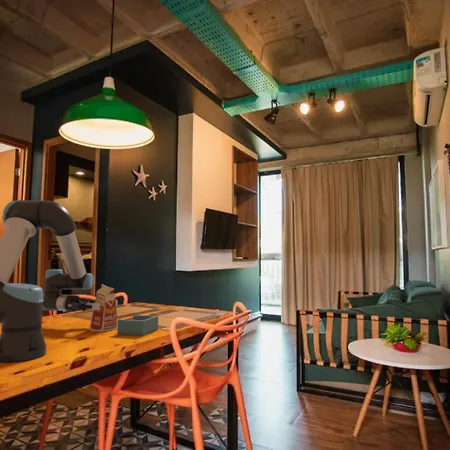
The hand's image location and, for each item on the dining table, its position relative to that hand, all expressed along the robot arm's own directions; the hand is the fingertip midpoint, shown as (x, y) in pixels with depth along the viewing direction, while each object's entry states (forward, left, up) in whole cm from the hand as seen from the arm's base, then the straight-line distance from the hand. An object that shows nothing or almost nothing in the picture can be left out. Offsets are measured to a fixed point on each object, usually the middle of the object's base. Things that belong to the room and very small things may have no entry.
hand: (108, 304), depth 159 cm
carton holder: (-9, -13, -11) cm, 19 cm away
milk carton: (0, +1, -11) cm, 11 cm away
